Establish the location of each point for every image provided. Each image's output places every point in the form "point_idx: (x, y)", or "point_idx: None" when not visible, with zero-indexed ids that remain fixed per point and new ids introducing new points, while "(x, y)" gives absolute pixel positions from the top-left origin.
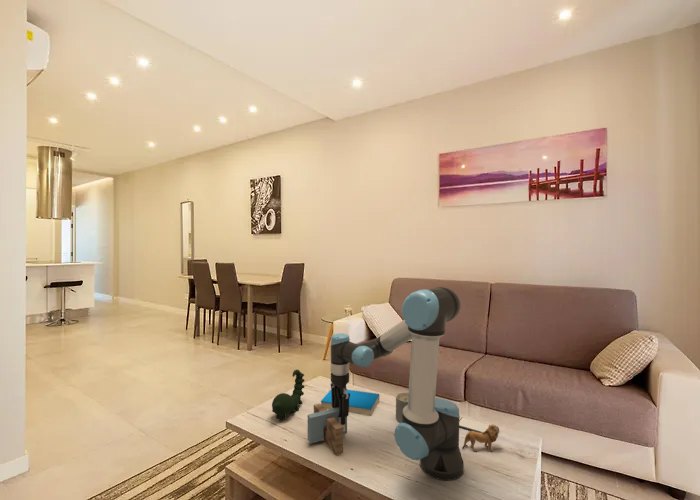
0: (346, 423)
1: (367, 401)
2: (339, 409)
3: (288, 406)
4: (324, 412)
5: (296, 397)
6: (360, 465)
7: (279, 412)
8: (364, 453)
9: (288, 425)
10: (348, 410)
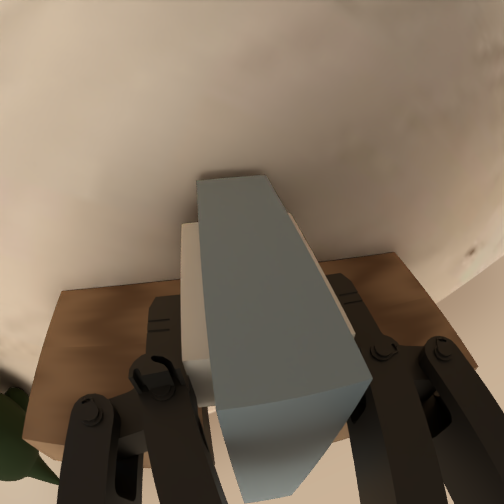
0: (292, 228)
1: None
2: (357, 458)
3: (19, 445)
4: (272, 484)
5: None
6: (483, 216)
7: None
8: (457, 156)
9: None
10: (490, 398)
